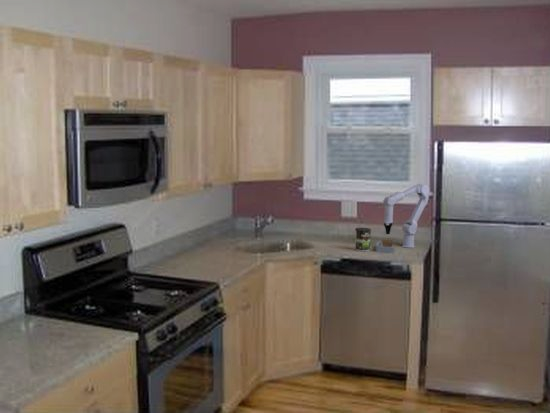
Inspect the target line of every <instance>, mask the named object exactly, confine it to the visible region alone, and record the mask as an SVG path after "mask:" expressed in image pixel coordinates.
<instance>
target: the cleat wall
mask: <svg viewBox="0 0 550 413" xmlns="http://www.w3.org/2000/svg"><path fill="white" fill-rule="evenodd" d="M381 244H382V241H381V240H378V241H377V242H376V244H375V252H378V253H386V254H387V253H388V254H389V253H391V254H394V252H395V247H393V246H392V247H382V245H381Z"/></svg>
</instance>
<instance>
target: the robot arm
mask: <svg viewBox="0 0 550 413" xmlns="http://www.w3.org/2000/svg"><path fill="white" fill-rule="evenodd" d="M414 193H415V194H417V195H418V197H419V200H418V201H417V203H416V205H415V207H414V209H413V211H412V214H411V216H410V218H409V219H407V220H406V222H405V223H404V224H403V225H402V231H403V242H402V243H403V244H402V248H410V249H414V248H415V245H416V244H415V234H416V232H417V229H418V221H419V219H420V218H421V216H422V213H423V211H424V209H425V208H426V205H427V203H428V201H429V199H430V198H429V197H430V188H429V186H428V185H425V184H421V183H418V184H414V185H413V186H411V187H409V188H407V189H405V190H404V191H396V192H395V193H393V194H390V195H389V196H386V197H385V198H384V199H383V201H382V202H383V204H384V212H383V214H384V215H383V216H384V217H383V220H382V222H383V226H384V228H385V234H386V235H390V233H391V229H392V226H393V222H394V220H393V219H394V205H395V204H396V203H398V202H400V201H402V200H404V198H405V197H407V196H410V195H411V194H414Z"/></svg>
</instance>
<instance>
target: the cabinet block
mask: <svg viewBox="0 0 550 413" xmlns="http://www.w3.org/2000/svg"><path fill="white" fill-rule="evenodd" d="M381 244H382V245H381V247H393V239H382V241H381Z"/></svg>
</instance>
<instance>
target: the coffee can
mask: <svg viewBox="0 0 550 413" xmlns="http://www.w3.org/2000/svg"><path fill="white" fill-rule="evenodd" d="M371 231H372V229H371V228H368V227H356V228H355V232H354V233H355V234H354V235H355V236H354V250H355V251H359V252H369V251H371V249H370V248H371V234H372V233H371Z"/></svg>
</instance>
